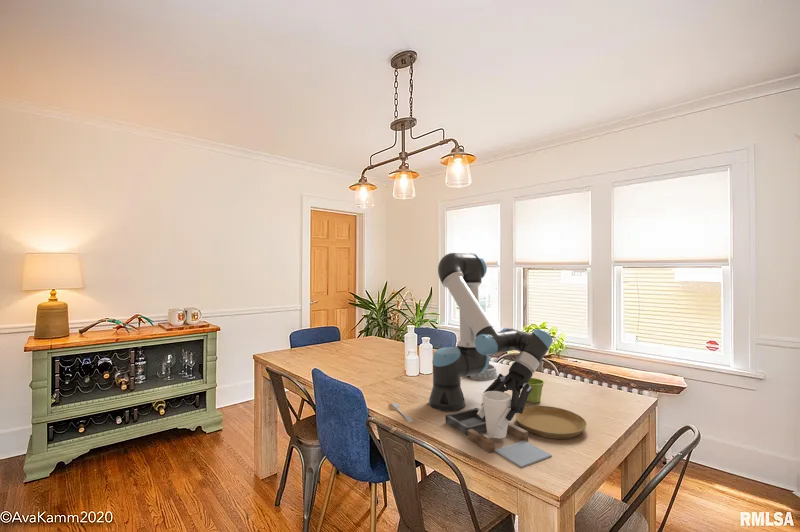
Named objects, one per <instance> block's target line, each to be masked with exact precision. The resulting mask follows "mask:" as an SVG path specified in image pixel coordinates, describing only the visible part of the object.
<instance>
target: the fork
mask: <svg viewBox="0 0 800 532" xmlns="http://www.w3.org/2000/svg"><path fill="white" fill-rule="evenodd" d="M388 405H391V406H392V407H393V408H394V409H396V410H397V411H398V412H399V413H400V414H401V415H402V416H403V417H404V418H405V420H406V421H407V422H408V423H411V422H412V423H413V422H414V421H415V420H414V419H413V417H410V416H409V415H407V414H406V413H405V412H403V411H401V409H400V407H401V406H400V404H399V403H397V402H392V403H389V404H388Z"/></svg>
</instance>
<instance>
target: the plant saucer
mask: <svg viewBox="0 0 800 532" xmlns="http://www.w3.org/2000/svg"><path fill="white" fill-rule="evenodd" d="M514 417H515V419H516V421H517V423H518V424H519V425H520V426H521V428H522V429H524V430H526V431H528V433H532V434H534V435H536V436H540V437H544V438H549V439H555V440H557V439H558V440H559V439H561V440H563V439H571V438H575V437H577V436H579V435H581V433H583V432H584V431H585V429H586V428H587V425H588V424H587V421H586V419H585V418H584V417H582V416H581V415H579V414H577V413H575V412H573V411H571V410H567V409H564V408H561V407H556V406H547V405H530V406H525V407H524V410H523V413H522V414H520V413H516V414H515V415H514Z"/></svg>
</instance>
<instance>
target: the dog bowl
mask: <svg viewBox="0 0 800 532" xmlns="http://www.w3.org/2000/svg"><path fill="white" fill-rule="evenodd" d="M469 377H470V380H474V381H492V380H494V381H495V380H496V379H497V377H498V373H497V369H496V366H495V365H493V364H490V363H489V365H488V368H487V369H486V370H485V371H484V372H482V373H479V374H477V375H470V376H469Z"/></svg>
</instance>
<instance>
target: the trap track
mask: <svg viewBox="0 0 800 532" xmlns="http://www.w3.org/2000/svg"><path fill="white" fill-rule="evenodd" d="M479 409H480V408H479V407H474V408H469V409H466V410H461V411H460V410H459V411H457V412H456V411H455V412H452V413H448V414H445V424H446V425H448V426H449V427H450V428H453V429H454V430H455V431H457V432H459V433H461V434H462V435H464V436H465V437H467V440H469V441H470V442H471V443H473V444H475V446H478V447H479V448H481V449H483V450H485V452H487V453H489V454H491V453H494V452H495V450H496V449H495V444H496V443H495V441H494V440H492V439H491V438H489V437H487V436H485V435H483V434H484V433H487V428H486V420H485V416H484V417H483V419H482V418H481V417H480V416H479V415H478V414H477V412H478V411H479ZM507 435H511V436H512V437H514V438H515V439H518V440H519V441H523V440H524V441H526V442H529V431H527V430H526V429H525V428H523V427H520V426H518V425H516V424H515V423H514V424H513V423H512V422H511V421H509V422H508V427H507Z"/></svg>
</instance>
